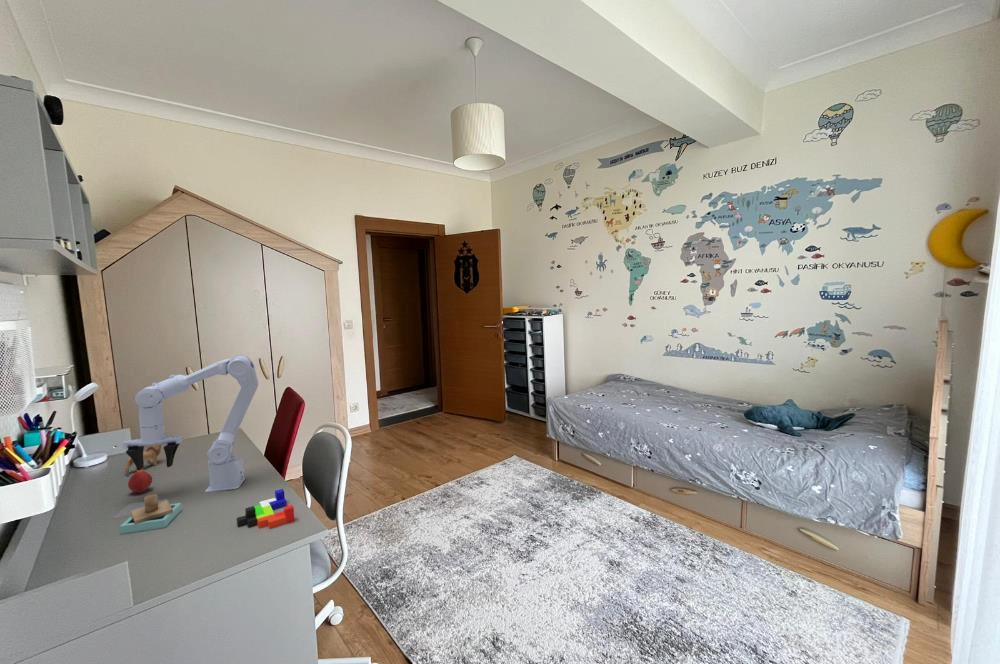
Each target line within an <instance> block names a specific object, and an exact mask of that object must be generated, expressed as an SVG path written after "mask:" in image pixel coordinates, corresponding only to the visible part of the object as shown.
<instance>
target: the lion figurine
mask: <svg viewBox="0 0 1000 664" xmlns="http://www.w3.org/2000/svg"><path fill="white" fill-rule="evenodd" d="M161 451H162V444H161V445H150V446H146V449H145V450H143V461H144V462H146V465H145V466H146V467H149V466H151V462H150V461H151V459H152V460H153V466H159V463H157V462H158V456H159V455H160V454H161ZM133 465H135V463H134V462H133V460H132V459H131V457H130V456H128V459H127V463H126V467H125V469H124V475H125V476H127V477H128V476H129V475H130V474H131V473H130V468H131V467H132V466H133ZM135 469H136V470H135V471H138V470H137V468H136V467H135ZM142 471H144V472H145V470H144V469H143V470H142Z"/></svg>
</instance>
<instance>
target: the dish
mask: <svg viewBox="0 0 1000 664" xmlns="http://www.w3.org/2000/svg"><path fill="white" fill-rule="evenodd" d="M169 504H170V506H171V507H172V509H173V513H171V514H167V515H164V516H161V517H158V518H154V519H151V520H148V521H145V522H141V523H138V524H135V523H134V520H133V518H132V516H129V517H128V518H127V519H126V520H125V521H124V522H123V523H122V524H121V525H119V533H120V535H124V534H125V535H126V534H130V533H138V532H139V533H140V532H146V531H151V530H152V531H153V530H159V529H164V528H165V529H166V528H167V527H168V526H169V525H170V523H171V522H172V521H173V520H174V519H175V518H176V517H177V516H178V515H179V514H180V513H181V512H182V510H183V509H182V508H183V506H182V504H183V503H182V502H177V503H172V504H171V503H169Z"/></svg>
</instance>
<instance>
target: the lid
mask: <svg viewBox="0 0 1000 664" xmlns="http://www.w3.org/2000/svg"><path fill="white" fill-rule="evenodd" d="M143 500H144V501H143V502H144V503H145V507H142V508H139V509H135V510H132V511H131V515H132V518H133V520H134V523H135V524H138V523H141V522H145V521H148V520H151V519H154V518H158V517H161V516H164V515H167V514H171V513H173V509H172V507H171V506H170V504H171V503H170V502H169V500H166V501H163V502H159V503H158V500H159V499H158V494H157V493H152V494H148V495H146V496H144V497H143Z"/></svg>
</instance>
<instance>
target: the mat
mask: <svg viewBox="0 0 1000 664" xmlns="http://www.w3.org/2000/svg"><path fill="white" fill-rule="evenodd" d="M166 500H167V501H169V498H163V499H162V498H161V499H158V503H159V502H163V501H166ZM142 507H145V503H144V501H140V502H133V503H128V504H127V505H126V506H125V507H124V508H123V509H121V510H120V511H119V512H118V513H117V514H115V515H114V516H113V517H112V519H118V518H125V517H126V518H128V517H131V516H132V515H131V511H132V510H135V509H139V508H142Z"/></svg>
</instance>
